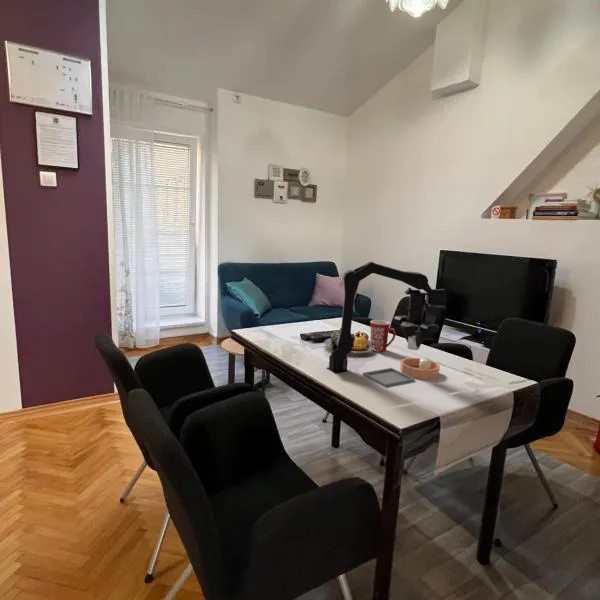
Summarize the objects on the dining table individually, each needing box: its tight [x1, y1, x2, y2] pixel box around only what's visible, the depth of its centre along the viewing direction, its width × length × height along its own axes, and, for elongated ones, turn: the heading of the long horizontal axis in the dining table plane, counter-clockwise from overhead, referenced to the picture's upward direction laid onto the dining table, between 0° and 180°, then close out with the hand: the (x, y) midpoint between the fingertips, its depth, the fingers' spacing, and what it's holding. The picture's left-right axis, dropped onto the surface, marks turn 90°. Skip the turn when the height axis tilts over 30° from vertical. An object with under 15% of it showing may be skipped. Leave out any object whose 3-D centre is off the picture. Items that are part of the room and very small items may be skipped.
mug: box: [369, 319, 397, 353], centre depth 192 cm, size 13×9×14 cm
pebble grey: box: [407, 335, 420, 351], centre depth 161 cm, size 4×4×4 cm
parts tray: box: [362, 367, 416, 388], centre depth 158 cm, size 14×13×1 cm
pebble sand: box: [419, 357, 432, 370], centre depth 167 cm, size 4×4×4 cm
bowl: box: [399, 357, 440, 380], centre depth 165 cm, size 14×14×4 cm
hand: (413, 345), depth 161 cm, fingers closed on pebble grey, 4 cm apart
